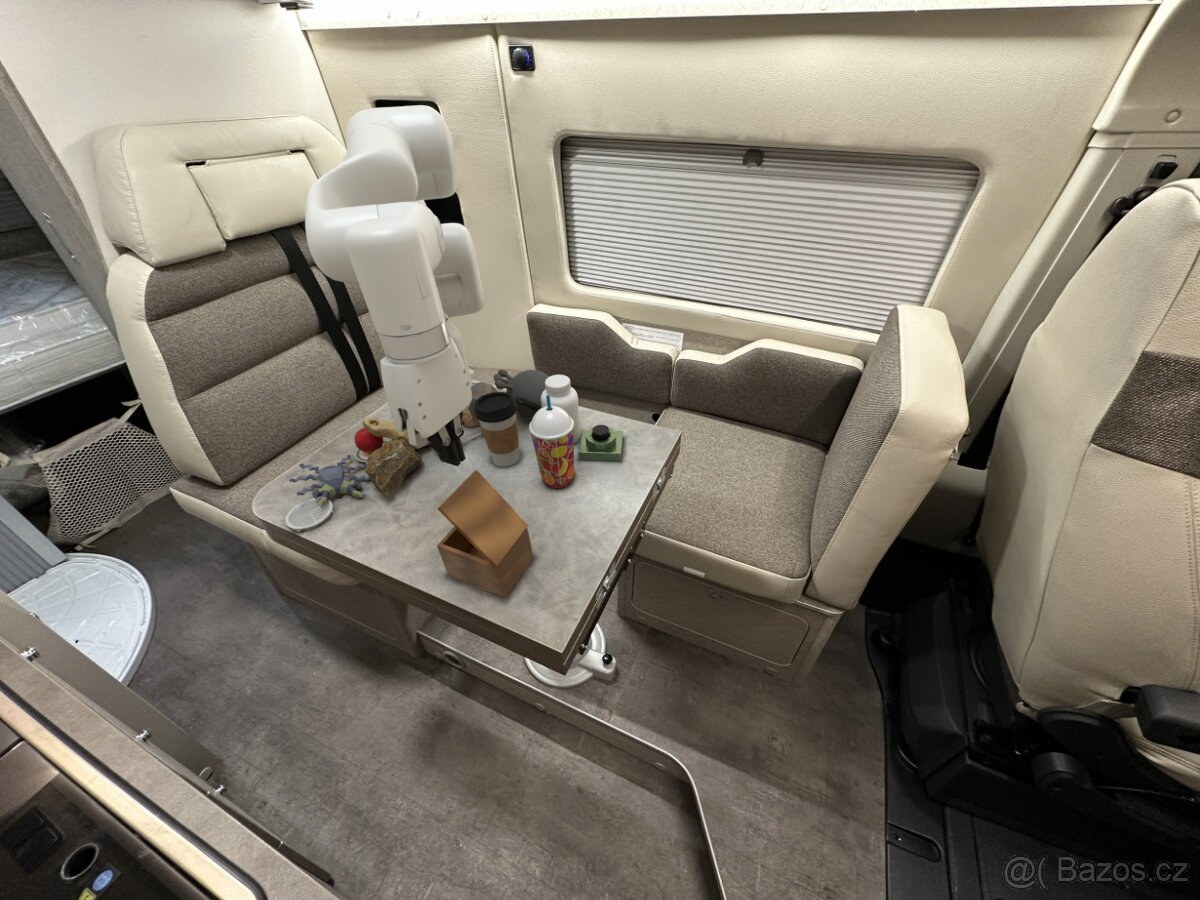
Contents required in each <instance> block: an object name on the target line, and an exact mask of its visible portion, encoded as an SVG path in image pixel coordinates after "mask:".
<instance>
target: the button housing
mask: <svg viewBox="0 0 1200 900" xmlns="http://www.w3.org/2000/svg"><path fill="white" fill-rule="evenodd" d="M606 426H607V427H608V428H609V438H608V439H606V440H603V441H597V440H595V439H594V438H593V434H592V429H593V427H590V428H589V429H583V430H582V433H581V437H580V443H579V447H578V454H577V455H578V460H579V461H596V462H597V461H598V462H599V461H601V462H621V461H622V454H623V453H622V452H623V444H624V431H623V430H615V429H614V428H613V427H611V426H608V425H606Z"/></svg>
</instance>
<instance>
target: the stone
mask: <svg viewBox="0 0 1200 900" xmlns="http://www.w3.org/2000/svg"><path fill="white" fill-rule="evenodd" d="M471 392H472V400H471V402H470V406H469V408H468V410H469V412H470V413H471V415H472V417H473V419H474V420H475V422H476V423H477V424H478V426H479V427H480V425H479V420H478V419H477V418H476V416H475V411H474V410H475V401H476V400H477V399H478V398H479V397H481V396H483V395H485V394H488V393H493V392H498V390H497V388H496V387H495V386H494V385H493V384H491V383H489V382H484V381H478V382H476V383H474V384H473V386H472V387H471Z"/></svg>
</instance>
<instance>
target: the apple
mask: <svg viewBox="0 0 1200 900" xmlns="http://www.w3.org/2000/svg"><path fill="white" fill-rule="evenodd" d="M388 441H389V440H388V439H384V437H377V436H375V435H374V434H372V433H370V432H369V431H367V430H366V429H365V427H362V428H360V429H359V430H358V431H356V432H355V434H354V444H355V446H356V450H355V452H354V459H356V460H357V461H358V462H361V463H366V461H367V460H368V457H369V456H370V455H371V454H372V453H373V452H374V451H376V450H377V449H379V448H381V447H382V446H383V445H384V444H385V443H386V442H388Z"/></svg>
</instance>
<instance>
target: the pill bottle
mask: <svg viewBox="0 0 1200 900" xmlns="http://www.w3.org/2000/svg"><path fill="white" fill-rule="evenodd" d="M545 388H546V389H545V390H544V391H543V393H542V395H541V405H542V408H543V407H545V406H547V400H546V396H547V395H549V396H550V402H551V406H558V407H560V408H562V409H563V410H565V411H566V412H567V413H568V415H569V416H570V417H571V418H572V419H573V421H574V445H575V444H576V443H577V442H578V441H579V440H580V439H581V423H580V407H579V396H578V395H579V394H578V393H577V391H576V390H575V388H574V387H572V385H571V379H570V377H569V376H566V375H565V374H553V375H549V377H548V378H547V379H546V381H545Z"/></svg>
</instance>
